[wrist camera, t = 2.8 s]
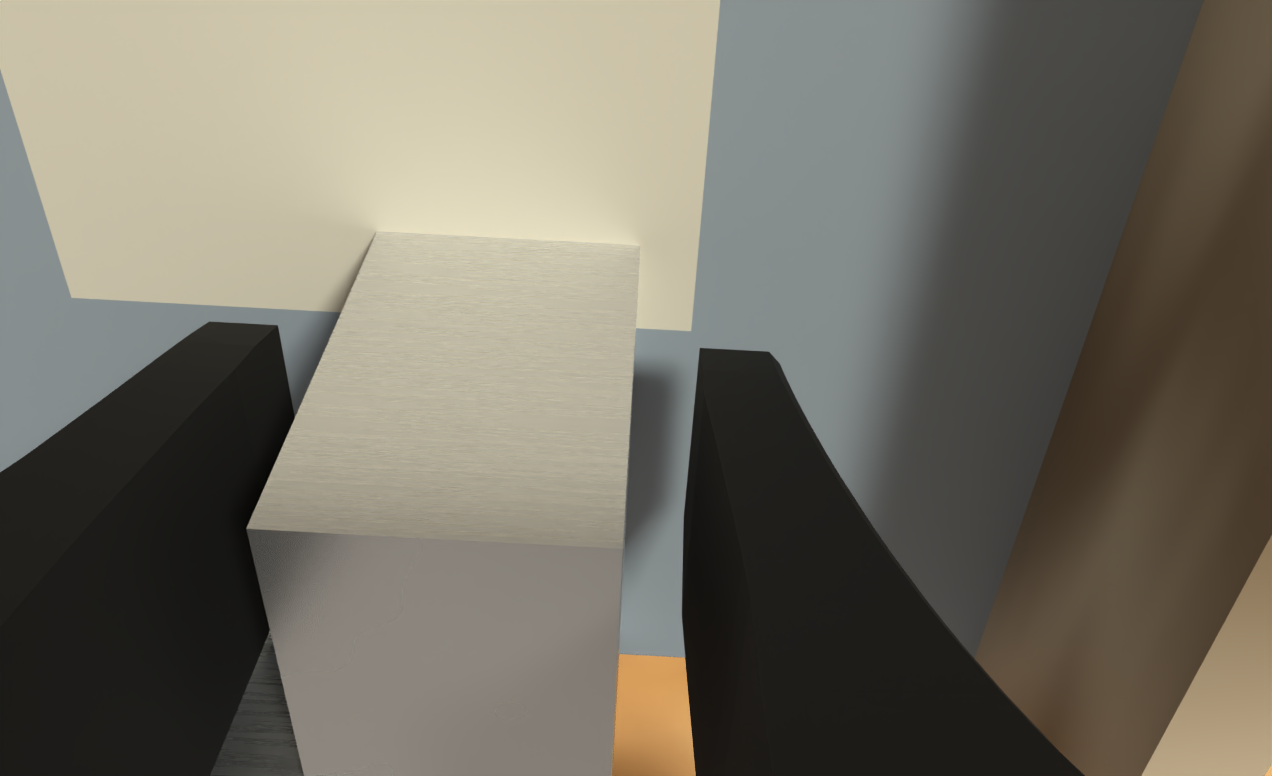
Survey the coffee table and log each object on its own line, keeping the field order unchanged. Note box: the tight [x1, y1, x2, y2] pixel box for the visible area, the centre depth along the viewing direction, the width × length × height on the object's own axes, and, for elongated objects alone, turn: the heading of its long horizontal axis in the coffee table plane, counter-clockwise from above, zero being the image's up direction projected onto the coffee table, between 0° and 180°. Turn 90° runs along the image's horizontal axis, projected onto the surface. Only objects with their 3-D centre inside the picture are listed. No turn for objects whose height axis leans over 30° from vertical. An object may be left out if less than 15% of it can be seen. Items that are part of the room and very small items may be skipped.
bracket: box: [210, 231, 640, 776], centre depth 11 cm, size 6×6×4 cm
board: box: [0, 0, 1204, 658], centre depth 10 cm, size 13×18×1 cm
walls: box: [974, 0, 1272, 776], centre depth 9 cm, size 14×18×4 cm
